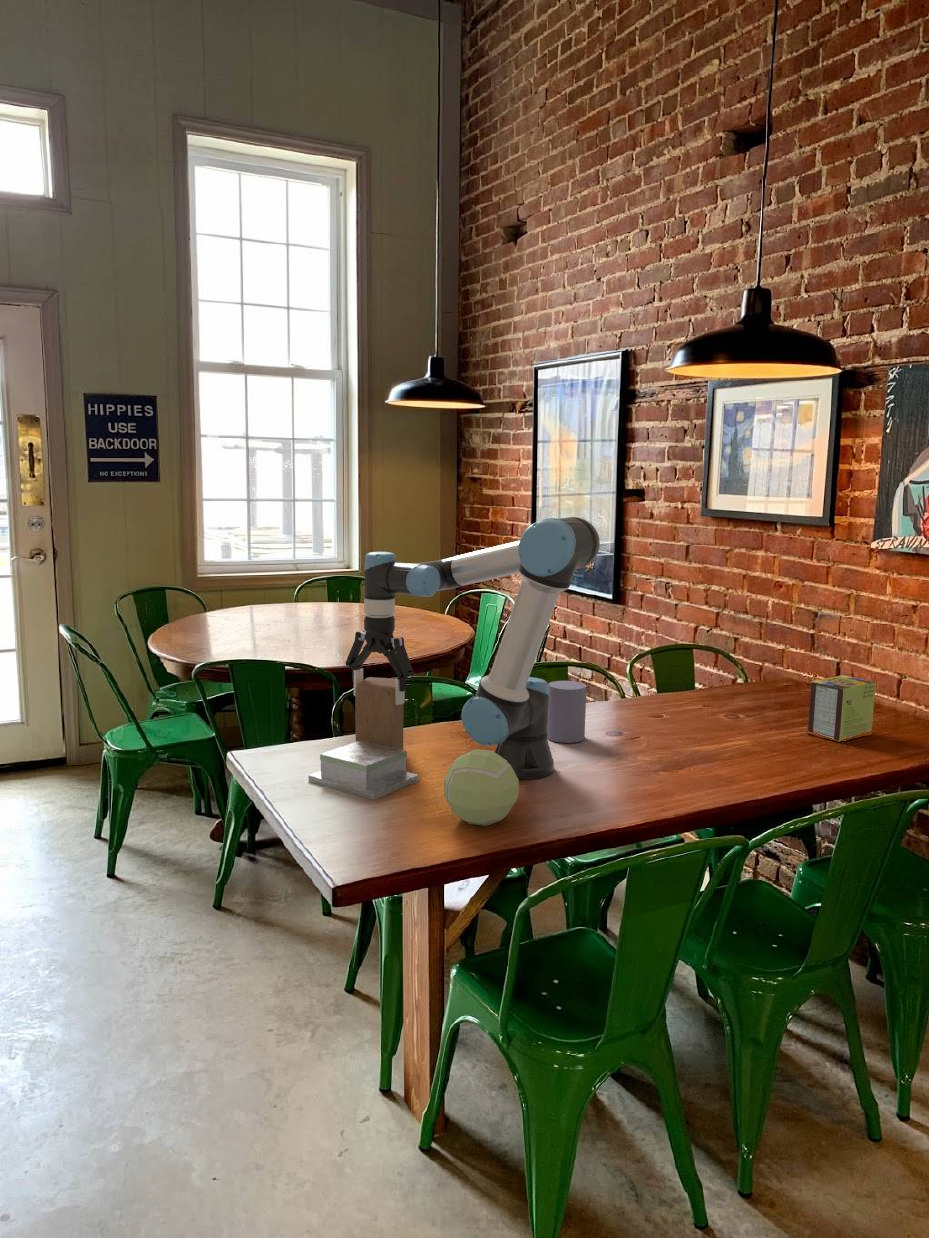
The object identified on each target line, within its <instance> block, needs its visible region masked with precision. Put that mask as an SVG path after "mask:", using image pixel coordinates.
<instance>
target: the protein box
mask: <svg viewBox="0 0 929 1238" xmlns="http://www.w3.org/2000/svg"><path fill="white" fill-rule="evenodd" d="M876 684H877V682H876V681H873V680H868V679H865V678H859V677H854V676H849V675H844V674H840V675H838V676H831V677H827V678H821V679H817V680H811V681H810V693H809V694H810V695H809V707H808V721H807V724H808V725H807V732H808V731H809V732H814V733H817V734H820V735H823V736H826V737H829V738H832V739H836V740H839V741H841V740H843V739H846V738H851V737H853V736H856V735H860V734H862V733H865V732H871V731H872V732H873V730H872V728H873V722H874V719H873V718H874V708H875V697H876V687H877V685H876ZM872 732H871V733H872Z"/></svg>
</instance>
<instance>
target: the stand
mask: <svg viewBox="0 0 929 1238" xmlns="http://www.w3.org/2000/svg"><path fill="white" fill-rule="evenodd" d="M407 755H408V751H406V750H404V749H403V750H400V749H396V748H392V747H388V746H384V745H380V744H375V743H371V742H367V741H363V740H360V741H357V742H356V741H355V742H351V743H348V744H346V745H344V746H340V747H336V748H333V749H331V750H329V751H328V750H327V751H325V752H322V753H320V754H319V759H320V770H319V771H317V772H314V773H311V774H309V775H308V782H309V783H312V784H317V785H320V786H324V787H327V788H330V789H333V790H338V791H340V792H343V793H347V794H351V795H355V796H358V797H361V798H365V799H368V800H372V801H374V800H376V799H379V798H381V797H384V796H387V795H388V794H389V795H390V794H392V793H393V792H397V791H398V790H401V789H403V788H406V787H407V786H410V785H412V784H414V783H417V782H419V774H417V773H413V772H409V771H407Z"/></svg>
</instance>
